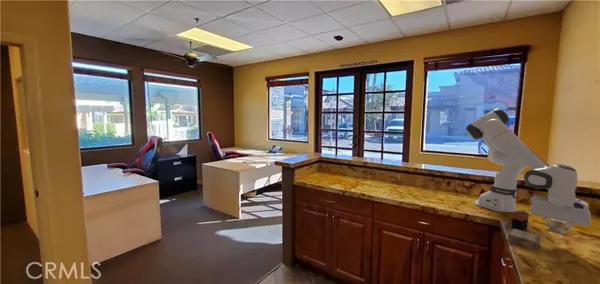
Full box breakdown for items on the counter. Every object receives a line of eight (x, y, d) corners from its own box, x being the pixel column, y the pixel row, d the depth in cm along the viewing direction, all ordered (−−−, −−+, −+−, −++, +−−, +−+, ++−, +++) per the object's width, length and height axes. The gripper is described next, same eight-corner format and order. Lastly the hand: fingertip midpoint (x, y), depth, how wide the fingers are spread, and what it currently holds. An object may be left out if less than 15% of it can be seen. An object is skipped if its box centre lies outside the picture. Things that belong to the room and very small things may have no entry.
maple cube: (548, 231, 123) (549, 221, 122) (549, 228, 126) (551, 218, 125) (563, 235, 119) (564, 224, 118) (564, 232, 122) (565, 221, 122)
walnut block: (507, 241, 124) (508, 233, 124) (512, 236, 131) (513, 228, 130) (535, 250, 117) (536, 242, 116) (539, 243, 123) (540, 235, 123)
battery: (510, 228, 140) (512, 210, 139) (517, 226, 143) (519, 208, 142) (520, 231, 136) (522, 213, 135) (527, 229, 139) (529, 211, 138)
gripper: (529, 195, 126) (526, 222, 128) (593, 207, 111) (588, 238, 113) (532, 193, 131) (529, 219, 132) (593, 204, 115) (589, 234, 117)
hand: (557, 228), depth 122 cm, fingers closed on maple cube, 5 cm apart
